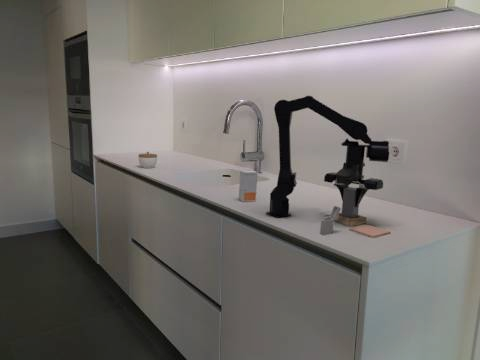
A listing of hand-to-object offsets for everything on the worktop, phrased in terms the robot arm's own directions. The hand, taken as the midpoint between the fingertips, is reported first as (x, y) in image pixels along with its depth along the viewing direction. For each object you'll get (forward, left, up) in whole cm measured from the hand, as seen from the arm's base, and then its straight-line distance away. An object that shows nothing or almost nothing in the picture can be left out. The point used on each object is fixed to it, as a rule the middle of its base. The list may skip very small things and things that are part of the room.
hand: (350, 205), depth 136 cm
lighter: (+5, -16, -6) cm, 18 cm away
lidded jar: (-137, -12, -6) cm, 138 cm away
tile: (+11, -4, -6) cm, 13 cm away
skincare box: (-41, -12, -6) cm, 43 cm away
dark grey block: (0, 0, -4) cm, 4 cm away
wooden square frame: (0, 0, -6) cm, 6 cm away
